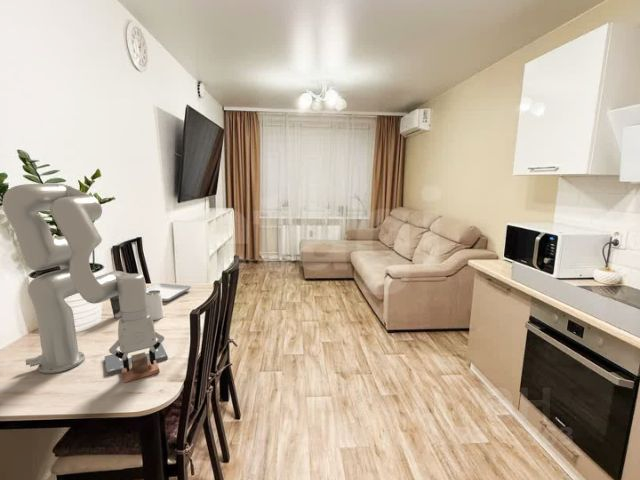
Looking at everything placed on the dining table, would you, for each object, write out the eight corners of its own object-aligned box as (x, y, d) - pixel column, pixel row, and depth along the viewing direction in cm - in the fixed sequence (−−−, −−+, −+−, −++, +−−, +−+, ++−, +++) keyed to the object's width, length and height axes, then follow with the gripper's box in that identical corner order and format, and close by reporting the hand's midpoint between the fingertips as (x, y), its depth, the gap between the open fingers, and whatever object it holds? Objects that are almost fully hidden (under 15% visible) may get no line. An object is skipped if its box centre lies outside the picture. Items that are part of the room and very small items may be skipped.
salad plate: (192, 291, 192) (192, 285, 191) (168, 304, 172) (167, 298, 171) (159, 288, 197) (159, 282, 196) (131, 301, 176) (131, 294, 176)
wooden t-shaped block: (124, 382, 106) (122, 367, 105) (121, 371, 112) (120, 356, 111) (159, 372, 112) (158, 357, 111) (155, 362, 117) (154, 348, 117)
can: (144, 319, 153) (141, 293, 151) (156, 314, 159) (153, 289, 157) (155, 321, 151) (152, 295, 149) (166, 316, 157) (164, 290, 154)
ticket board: (107, 375, 110) (106, 371, 110) (104, 359, 120) (104, 356, 119) (167, 358, 120) (167, 355, 120) (161, 345, 130) (160, 342, 129)
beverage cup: (116, 320, 152) (111, 276, 148) (107, 317, 155) (102, 274, 152) (132, 315, 158) (127, 272, 154) (123, 312, 161) (119, 270, 158)
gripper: (102, 324, 100) (109, 380, 103) (166, 311, 110) (171, 363, 113) (101, 315, 106) (107, 369, 110) (162, 304, 116) (166, 353, 119)
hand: (139, 365), depth 111 cm, fingers open, 6 cm apart
